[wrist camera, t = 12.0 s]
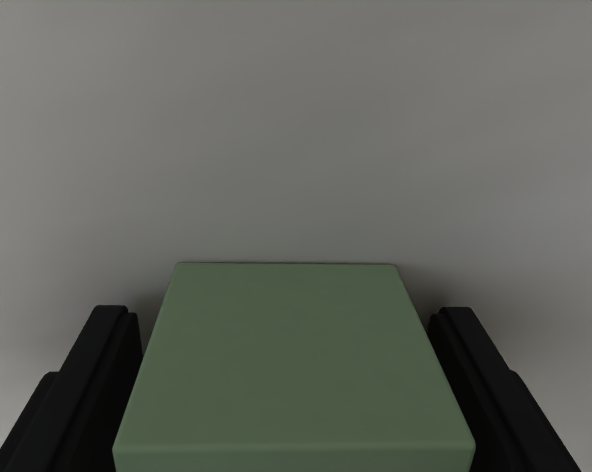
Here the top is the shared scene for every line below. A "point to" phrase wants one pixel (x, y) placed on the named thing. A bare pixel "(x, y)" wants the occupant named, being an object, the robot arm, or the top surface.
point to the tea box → (290, 376)
